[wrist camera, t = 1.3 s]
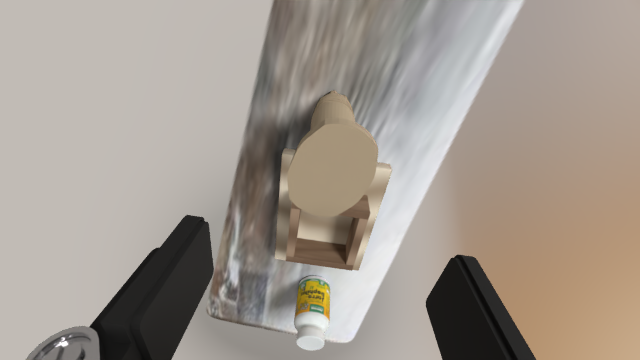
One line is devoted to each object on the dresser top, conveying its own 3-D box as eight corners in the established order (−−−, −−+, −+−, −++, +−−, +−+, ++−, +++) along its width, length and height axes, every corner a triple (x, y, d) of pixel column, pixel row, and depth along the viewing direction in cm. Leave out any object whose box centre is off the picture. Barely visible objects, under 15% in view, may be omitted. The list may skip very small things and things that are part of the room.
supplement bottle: (301, 294, 46) (293, 352, 38) (297, 274, 43) (288, 333, 35) (331, 294, 46) (329, 353, 37) (329, 274, 43) (327, 334, 35)
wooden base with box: (284, 148, 31) (276, 168, 27) (390, 164, 31) (398, 186, 27) (276, 250, 40) (269, 277, 36) (357, 262, 41) (360, 290, 37)
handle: (302, 121, 29) (274, 200, 16) (326, 66, 26) (315, 109, 13) (340, 138, 30) (342, 226, 17) (368, 87, 27) (396, 147, 14)
